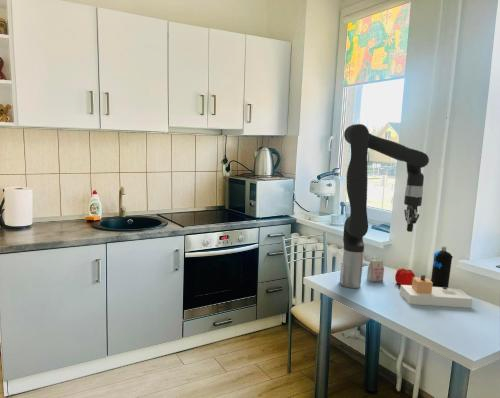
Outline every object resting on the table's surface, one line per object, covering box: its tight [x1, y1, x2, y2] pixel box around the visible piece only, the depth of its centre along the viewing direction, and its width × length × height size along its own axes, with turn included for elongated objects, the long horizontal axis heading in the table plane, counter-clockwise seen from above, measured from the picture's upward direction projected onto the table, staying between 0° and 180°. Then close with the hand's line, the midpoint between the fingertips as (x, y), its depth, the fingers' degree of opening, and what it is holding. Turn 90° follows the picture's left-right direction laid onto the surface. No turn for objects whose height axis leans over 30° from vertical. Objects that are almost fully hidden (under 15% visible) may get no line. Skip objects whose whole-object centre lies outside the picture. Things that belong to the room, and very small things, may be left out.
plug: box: [412, 274, 433, 294], centre depth 172 cm, size 6×6×9 cm
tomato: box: [394, 267, 416, 286], centre depth 190 cm, size 9×9×8 cm
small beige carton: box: [366, 259, 385, 283], centre depth 194 cm, size 4×7×10 cm, turn 107°
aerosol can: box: [430, 245, 453, 288], centre depth 189 cm, size 8×8×20 cm
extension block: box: [399, 285, 473, 309], centre depth 173 cm, size 26×12×5 cm, turn 88°
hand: (409, 231), depth 185 cm, fingers closed
